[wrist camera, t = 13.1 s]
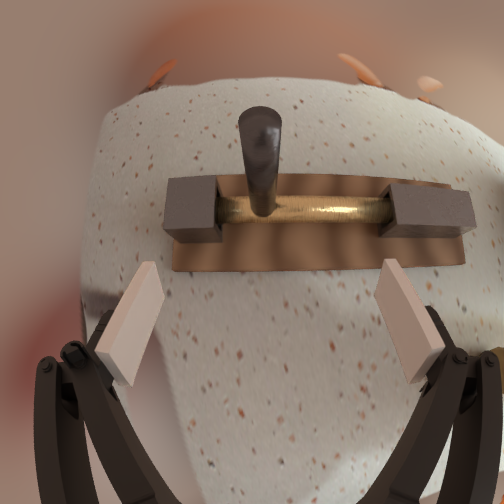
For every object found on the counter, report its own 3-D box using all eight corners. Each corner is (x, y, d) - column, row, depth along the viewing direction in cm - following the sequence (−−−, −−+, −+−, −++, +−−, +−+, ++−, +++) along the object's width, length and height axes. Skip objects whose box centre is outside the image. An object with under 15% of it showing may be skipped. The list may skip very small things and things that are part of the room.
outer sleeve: (448, 206, 36) (468, 191, 30) (454, 238, 35) (476, 227, 29) (373, 201, 37) (390, 182, 31) (378, 237, 36) (397, 224, 30)
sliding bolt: (388, 204, 35) (459, 129, 17) (391, 226, 34) (472, 161, 16) (196, 204, 36) (143, 116, 18) (194, 228, 36) (134, 151, 17)
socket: (223, 197, 38) (215, 175, 32) (222, 242, 37) (213, 227, 30) (183, 199, 39) (168, 178, 32) (180, 243, 37) (163, 229, 30)
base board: (446, 188, 39) (450, 184, 37) (460, 264, 36) (465, 263, 34) (182, 182, 41) (179, 177, 39) (175, 271, 38) (171, 270, 36)
